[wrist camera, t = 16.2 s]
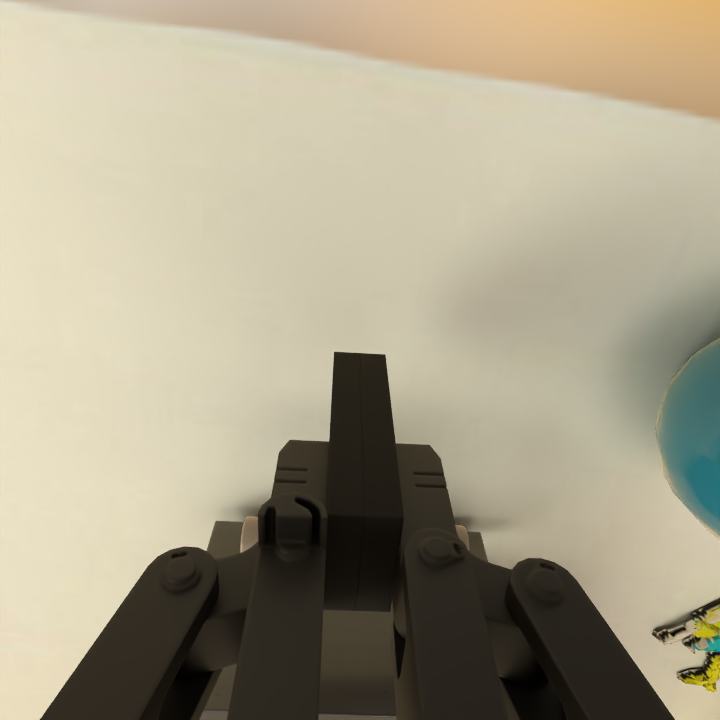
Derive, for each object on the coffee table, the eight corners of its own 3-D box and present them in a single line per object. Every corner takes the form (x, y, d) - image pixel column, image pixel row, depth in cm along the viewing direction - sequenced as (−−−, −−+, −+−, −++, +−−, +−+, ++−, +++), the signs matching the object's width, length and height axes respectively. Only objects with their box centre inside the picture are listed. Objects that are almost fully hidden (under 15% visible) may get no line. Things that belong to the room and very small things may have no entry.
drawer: (207, 426, 21) (138, 603, 15) (502, 440, 22) (568, 618, 15) (230, 702, 30) (194, 891, 24) (438, 708, 31) (462, 896, 24)
